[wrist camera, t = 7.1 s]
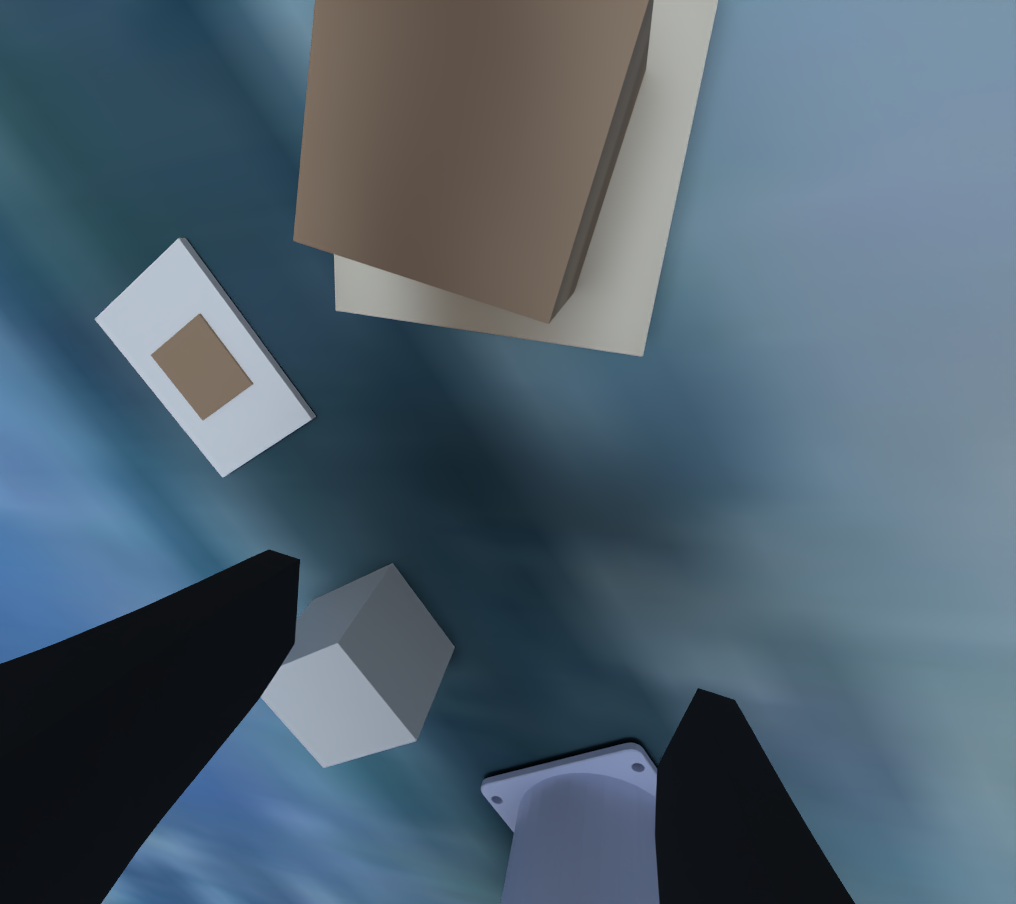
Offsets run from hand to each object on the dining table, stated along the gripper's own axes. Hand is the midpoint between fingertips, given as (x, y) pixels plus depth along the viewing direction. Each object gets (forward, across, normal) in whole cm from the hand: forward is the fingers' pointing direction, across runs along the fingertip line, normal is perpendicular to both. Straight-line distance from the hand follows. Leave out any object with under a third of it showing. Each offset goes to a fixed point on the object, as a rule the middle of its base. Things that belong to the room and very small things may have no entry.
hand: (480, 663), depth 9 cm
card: (+9, +13, 0) cm, 16 cm away
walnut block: (+6, +2, -8) cm, 11 cm away
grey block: (+10, +5, +10) cm, 14 cm away
